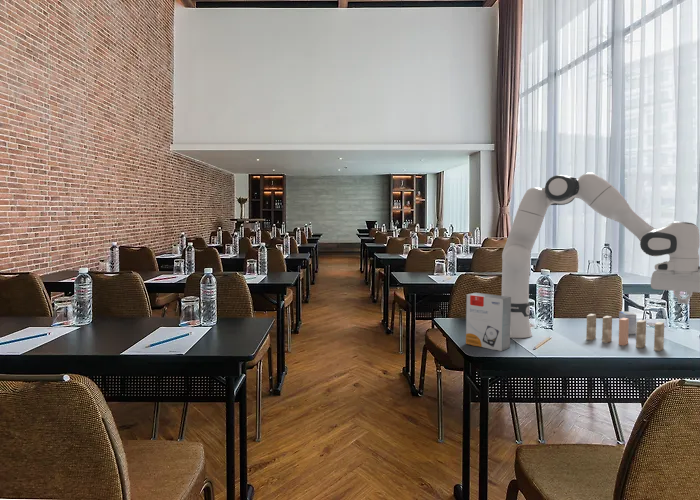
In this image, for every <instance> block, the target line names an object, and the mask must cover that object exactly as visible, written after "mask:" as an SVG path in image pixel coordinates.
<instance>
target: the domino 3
mask: <svg viewBox="0 0 700 500" xmlns="http://www.w3.org/2000/svg"><path fill="white" fill-rule="evenodd" d="M628 331H629V318H622V319H619V318H618V345H620V346H626V345H628V344H629V334H628Z"/></svg>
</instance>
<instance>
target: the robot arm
mask: <svg viewBox="0 0 700 500" xmlns="http://www.w3.org/2000/svg"><path fill="white" fill-rule="evenodd" d="M574 199H579V200H581V201H583V202H584V203H586V204H587V206H589V207H590V208H591V209H592V210H593V211H595V212H596V213H598V214H599V215H601V216H603V217H604V218H606V219H610V220H613V221H615V222H617V223H619V224H621V225H622V226H623V227H624V228H626V229H627V230H628V231H629V232H630V233H631V234H632V235H634V236H635V237H636V238H637V239H638V240H639V242H640V243H639V246H640V249H641V251H643V253H645V254H646V255H647V256H651V257H661V256H664V255H668V256H669V260H668V261H663V262H660V263H659V262H658V263H656V264H655V265H654V271H653V272H652V273H651V279H650V288H651V289H652V290H658V291H659V290H661V291H673V292H674V295H675V296H676V298H677V304H683V305H689V301H690V300H689V299H690V298H691V297H692V296H693V293H700V255H699V248H700V230H699V227H698V225H696V224H694V223H692V222H689V221H681V220H675V221H672V222H671V223H669V224H668V225H666V226H663V227H661V228H658V229H657V228H654V227H653V226H651V225H650V224H649V223H648V222H647V221H645V219H643V218H642V217H640V216H639V214H637V213H636V212H635V211H634V210H633V209H632V208H631V206H630V205H629V203H628V202H627V200H626V198H625V197H624V196H623V195H622V194H621V192H620V191H619V190H618V189H617V188H616V187H615V186H613V185H612V184H611V183H610V182H609V181H607V180H605V179H604V178H603V177H601V176H599V175H598V174H596V173H594V172H587V173H584V174H582V175H580V176H579V177H578V178H576V177H574V176H570V175H564V174H556V175H553V176H551V177H550V178H549V179H548V180H547V181H546V183H545V185H544V187H543V188H541V187H530V188H529V189H527V190H526V192H525V193H524V195H523V197H522V198H521V201H520V203H519V205H518V208H517V210H516V214H515V216H514V219H513V222H512V225H511V228H510V231H509V233H508V236H507V239H506V241H505V245H504V247H503V250H502V253H501V259H502V262H501V266H502V267H501V268H502V269H501V296H507V297H511V321H510V339H511V338H512V339H513V338H514V339H516V338H517V339H525V338H532V337H533V333H532V329H531V324H530V312H531V307H530V301H529V300H530V299H529V298H530V297H529V296H530V295H529V294H530V273H531V253H532V249H533V248H534V245H535V242H536V240H537V239H538V236H539V233H540V230H541V227H542V226H543V222H544V219H545V216H546V213H547V210H548V208H549V207H550V206H565V205H568V204H570V203H572V202H573V201H574ZM681 292H685V293H686V295H687V296H686V298H682V297H681V296H680V294H681Z"/></svg>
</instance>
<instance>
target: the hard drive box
mask: <svg viewBox="0 0 700 500" xmlns="http://www.w3.org/2000/svg"><path fill="white" fill-rule="evenodd" d="M465 295H466V300H465V301H466V303H465V305H466V307H465V310H466V311H465V344H466V345H469V346H470V345H471V346H474V347H480V348H484V349H489V350H493V351H498V352H502V351H505V350H508V349H510V348H511V338H510V321H511V297H507V296H502V295H498V294H497V295H496V294H489V293H482V292H481V293H480V292H473V293H468V294H465Z"/></svg>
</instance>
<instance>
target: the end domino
mask: <svg viewBox="0 0 700 500" xmlns="http://www.w3.org/2000/svg"><path fill="white" fill-rule="evenodd" d="M653 338H654V340H653V341H654V342H653V345H654V346H653V351H656V352H661V351H663V350H664V345H665V322H662V321H661V322H660V321H656V322H655V323H654V337H653Z"/></svg>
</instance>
